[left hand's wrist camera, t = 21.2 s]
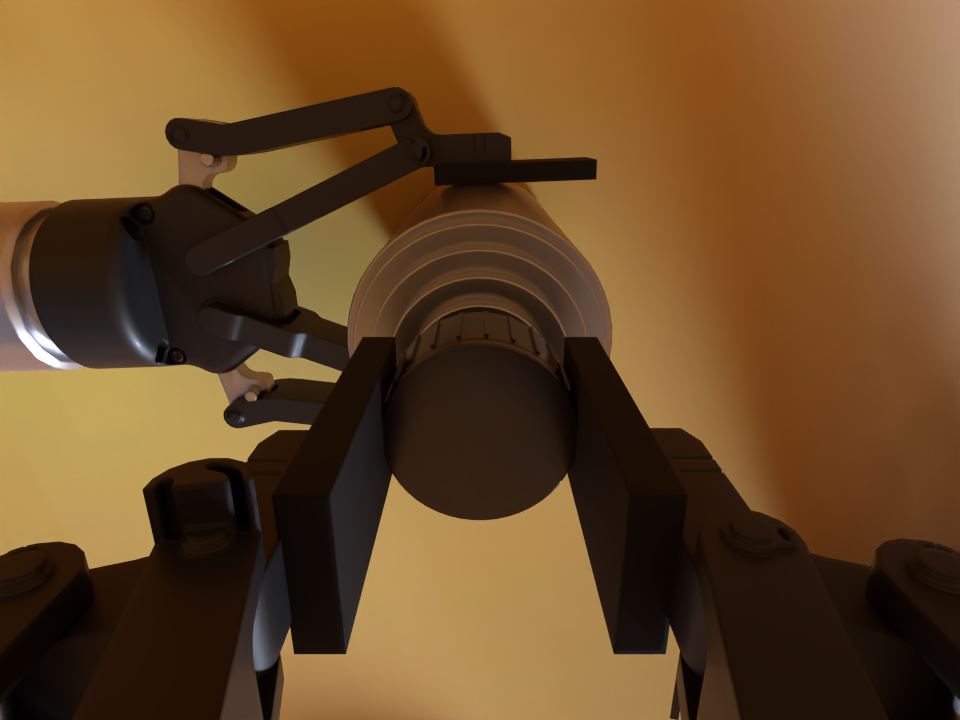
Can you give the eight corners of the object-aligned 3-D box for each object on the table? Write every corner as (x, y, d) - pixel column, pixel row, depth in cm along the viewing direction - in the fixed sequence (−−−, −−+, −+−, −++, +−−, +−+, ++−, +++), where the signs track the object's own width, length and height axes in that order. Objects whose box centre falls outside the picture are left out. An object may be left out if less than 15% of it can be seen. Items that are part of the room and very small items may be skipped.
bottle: (396, 296, 34) (274, 533, 14) (425, 155, 31) (327, 194, 11) (528, 328, 34) (596, 599, 14) (568, 193, 32) (719, 294, 12)
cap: (422, 284, 13) (412, 312, 11) (593, 342, 14) (614, 380, 12) (372, 439, 15) (354, 490, 13) (529, 487, 15) (537, 544, 13)
